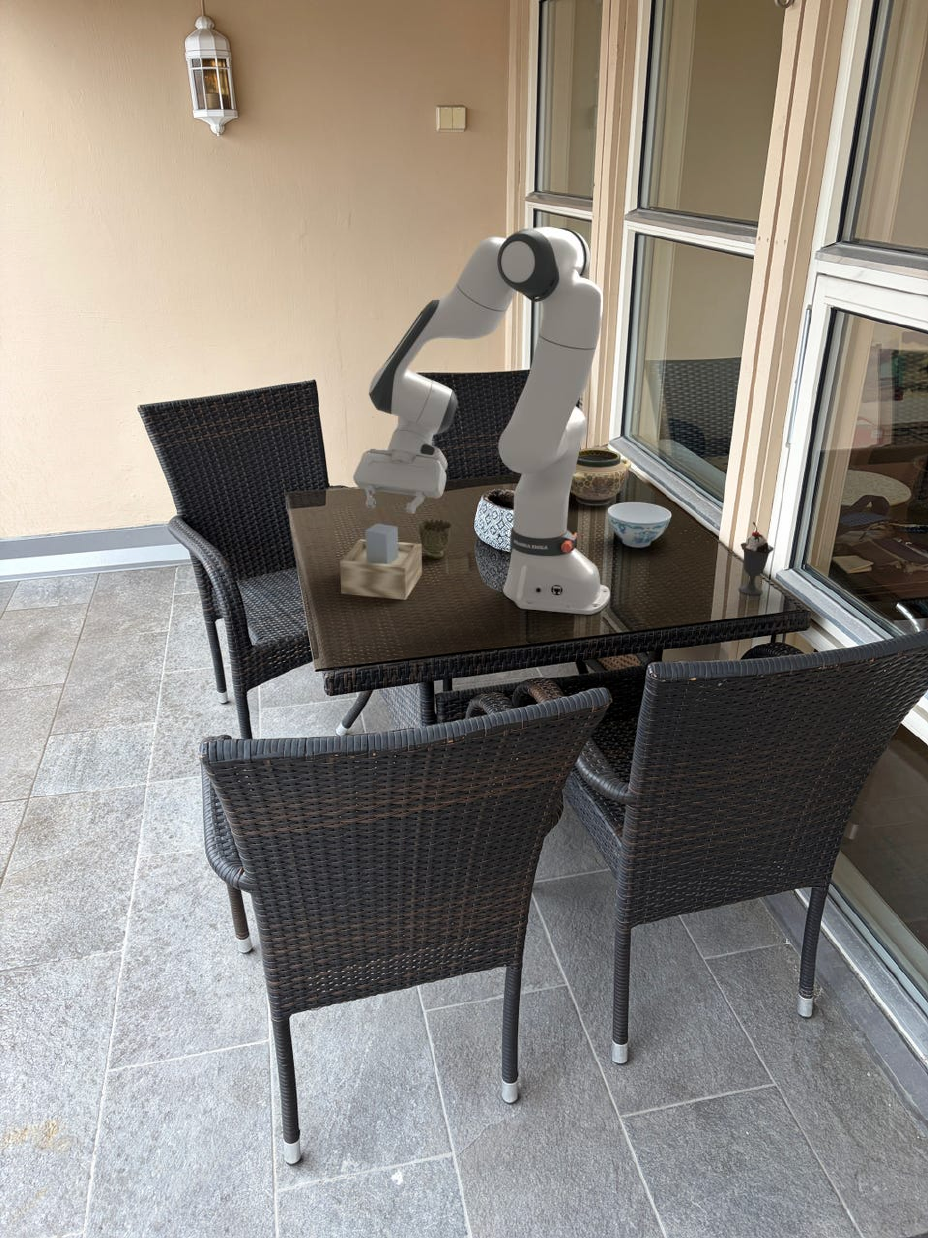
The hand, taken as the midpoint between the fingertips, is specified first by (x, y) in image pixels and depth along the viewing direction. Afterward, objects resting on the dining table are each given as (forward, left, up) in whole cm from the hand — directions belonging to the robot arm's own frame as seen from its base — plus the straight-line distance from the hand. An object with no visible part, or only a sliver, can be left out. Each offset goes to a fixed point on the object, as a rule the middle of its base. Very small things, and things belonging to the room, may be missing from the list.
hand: (389, 509), depth 198 cm
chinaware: (-45, -43, -16) cm, 64 cm away
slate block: (0, +4, -10) cm, 11 cm away
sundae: (-74, -24, -16) cm, 79 cm away
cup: (-4, -15, -16) cm, 22 cm away
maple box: (0, +4, -16) cm, 17 cm away
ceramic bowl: (-27, -70, -16) cm, 77 cm away
